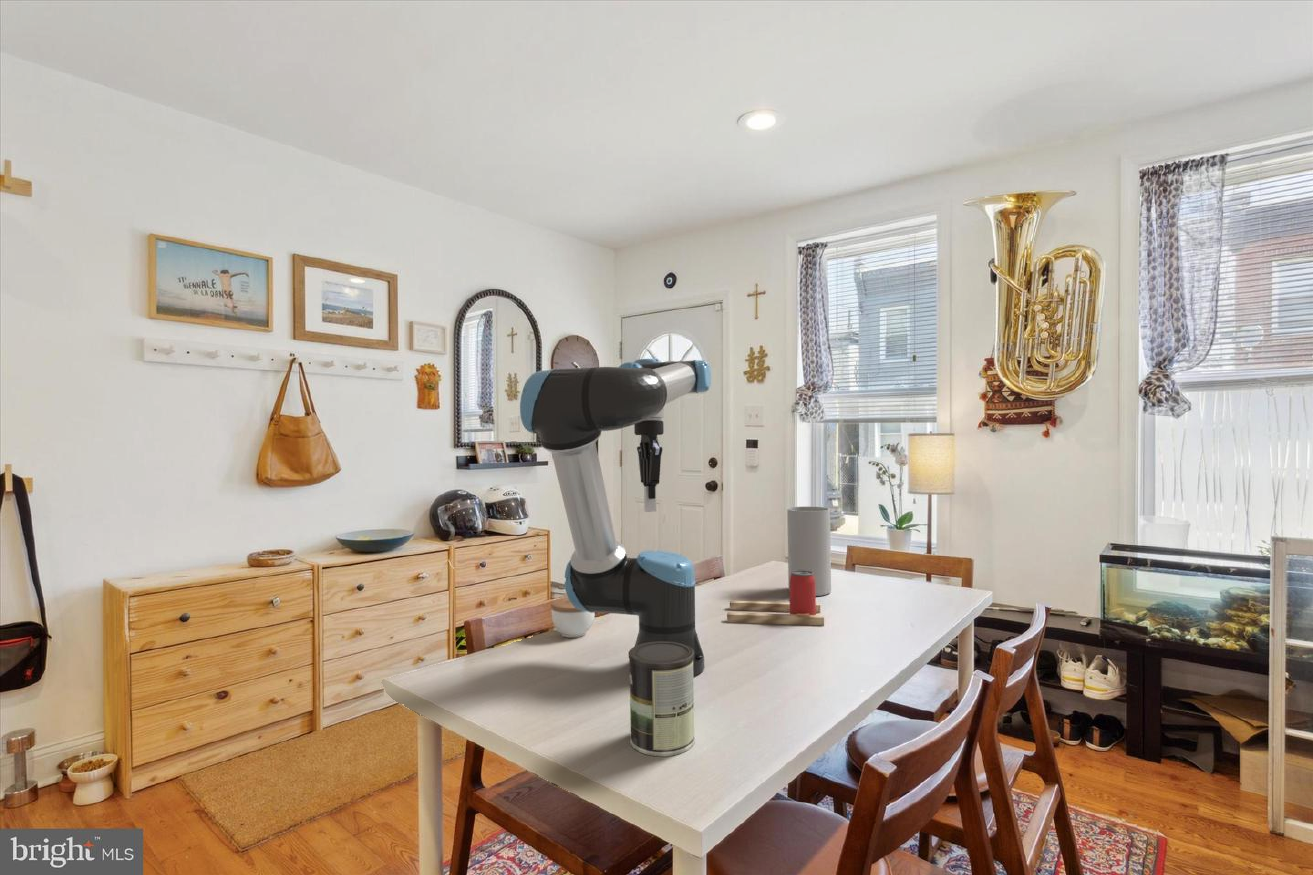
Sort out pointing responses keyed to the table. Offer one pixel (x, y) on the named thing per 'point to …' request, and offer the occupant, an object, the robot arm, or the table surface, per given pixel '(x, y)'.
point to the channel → (771, 618)
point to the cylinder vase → (810, 544)
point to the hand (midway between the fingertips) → (650, 511)
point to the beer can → (802, 592)
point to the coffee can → (661, 698)
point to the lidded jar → (570, 618)
